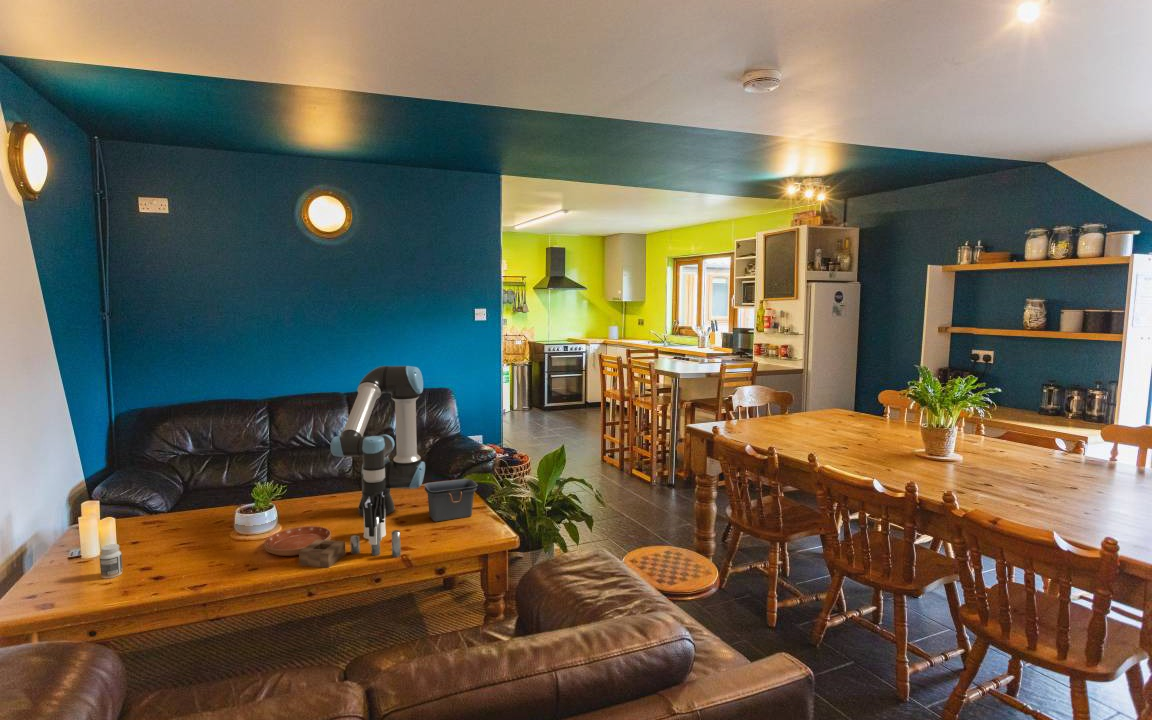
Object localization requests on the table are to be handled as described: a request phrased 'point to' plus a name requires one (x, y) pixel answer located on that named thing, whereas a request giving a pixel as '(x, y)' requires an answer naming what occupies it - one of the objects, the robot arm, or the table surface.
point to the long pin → (376, 548)
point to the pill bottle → (111, 561)
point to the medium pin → (396, 544)
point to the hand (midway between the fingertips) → (375, 542)
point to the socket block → (322, 553)
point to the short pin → (355, 544)
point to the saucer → (295, 540)
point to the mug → (366, 530)
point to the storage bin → (450, 499)
